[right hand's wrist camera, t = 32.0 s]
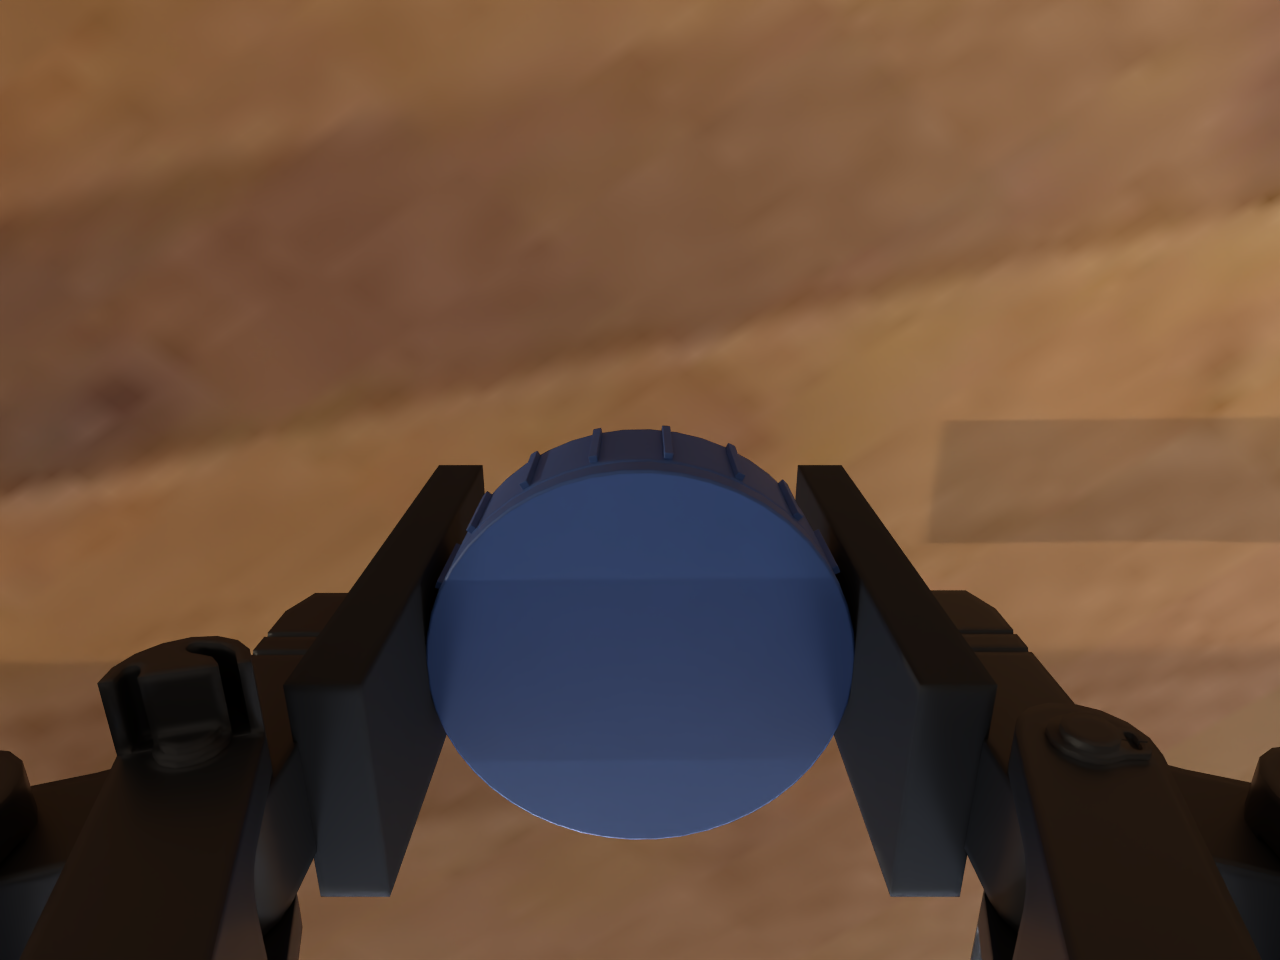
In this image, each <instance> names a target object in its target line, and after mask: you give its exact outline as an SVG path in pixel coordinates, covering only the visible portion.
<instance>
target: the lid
mask: <svg viewBox="0 0 1280 960" xmlns="http://www.w3.org/2000/svg"><path fill="white" fill-rule="evenodd" d="M466 530H467V531H468V532H467V534H466V536H465V538H464V540H463V542H462V544H461V545H460V544H457V543H456V545H455V547H454V549H453V551H452V553H451V555H450V557H449V559H448V560H447V562H446V564H445V566H444V568H443V570H442V572H441V574H440V576H439V578H438V580H437V583H436V585H435V588H438V589H439V591H438V594H437V597H436V600H435V602H434V605H433V608H432V611H431V615H430V620H429V626H428V631H427V637H426V658H427V669H428V678H429V687H430V692H431V695H432V699H433V702H434V706H435V709H436V712H437V714H438V716H439V719H440V721H441V723H442V725H443V728H444V730H445V732H446V734H447V735H448V737H449V739H450V740H451V742H452V743H453V745H454V747H455V748H456V750H457V751H458V753H459V754H460V755H461V756H462V758H463V759H464V760H465V761H466V763H467V764H468V765H469V766H470V767H471V769H472V770H473V771H474V772H475V773H476V774H477V775H478V776H479V777H480V778H481V779H483V780H484V781H485V782H486V783H487V784H488V785H489V786H490V787H491V788H492V789H494V790H495V791H496V792H498V793H499V794H500V795H502V796H503V797H505V798H506V799H507V800H509V801H510V802H511V803H513V804H515V805H517V806H518V807H520V808H522V809H524V810H525V811H527V812H529V813H531V814H532V815H534V816H537V817H539V818H541V819H544V820H546V821H548V822H551V823H553V824H555V825H558V826H562V827H565V828H568V829H571V830H575V831H578V832H581V833H587V834H592V835H597V836H602V837H609V838H620V839H662V838H671V837H679V836H685V835H690V834H694V833H698V832H703V831H707V830H710V829H713V828H716V827H719V826H722V825H725V824H728V823H731V822H733V821H735V820H737V819H739V818H742V817H744V816H746V815H748V814H750V813H752V812H754V811H756V810H758V809H759V808H761V807H763V806H764V805H766V804H767V803H769V802H771V801H772V800H774V799H776V798H777V797H778V796H779V795H781V794H782V793H783V792H784V791H786V790H787V789H788V788H790V787H791V786H792V785H793V784H795V783H796V782H797V781H798V780H799V779H800V778H801V777H802V776H803V775H804V774H805V773H806V772H807V771H808V770H809V769H810V768H811V767H812V765H813V764H814V763H815V761H816V760H817V759H818V758H819V756H820V755H821V754H822V752H823V751H824V750H825V748H826V747H827V745H828V744H829V742H830V740H831V738H832V737H833V735H834V733H835V731H836V730H837V728H838V726H839V724H840V721H841V719H842V716H843V714H844V711H845V709H846V706H847V704H848V700H849V696H850V691H851V683H852V674H853V664H854V654H855V641H854V629H853V625H852V620H851V616H850V611H849V607H848V604H847V602H846V599H845V597H844V594H843V592H842V589H841V586H840V584H839V582H838V580H837V578H836V576H835V574H837V573H840V570H839V568H838V565H837V564H836V562H835V560H834V558H833V556H832V554H831V552H830V550H829V548H828V546H827V544H826V542H825V540H824V538H823V536H822V534H821V533H820V531H819V529H818V530H815V531H813V529H812V528H811V526H810V524H809V523H808V521H807V519H806V517H805V516H804V514H803V512H802V510H801V509H800V508H799V506H798V505H797V503H796V501H795V499H794V497H793V495H792V493H791V491H790V489H789V487H788V484H787V483H786V482H785V481H784V480H781V481H780V482H779V483H777V482H776V481H775V480H774V479H773V478H772V477H771V476H770V475H769V474H768V473H766V472H765V471H764V470H762V469H761V468H759V467H758V466H757V465H755V464H754V463H753V462H751V461H750V460H748V459H746V458H745V457H743V456H741V455H739V454H738V453H737V451H736V448H735V446H734V445H732V444H729V443H728V444H727V446H726V447H723V446H721V445H718V444H715V443H713V442H710V441H707V440H705V439H702V438H698V437H694V436H690V435H686V434H681V433H677V432H671V431H670V426H662V431H660V430H651V429H647V430H619V431H612V432H606V433H602V430H601V428H598V429H594V430H593V435H591V436H587V437H584V438H580V439H576V440H573V441H570V442H568V443H565V444H563V445H561V446H558V447H556V448H554V449H551V450H549V451H547V452H545V453H544V454H542V455H540V454H539V452H538V451H536V452H534V453H533V454H531V456H530V459H529V461H528V463H526V464H525V465H524V466H523V467H521V468H520V469H519V470H517V471H516V472H515V473H514V474H512V475H511V476H510V477H509V478H507V479H506V480H505V481H504V482H503V483H502V484H501V485H500V486H499V487H498V489H497V490H496V491H495V492H494V493H493V494H490V493H489V492H488V491H487V492H486V493H485V494H484V495H483V497H482V499H481V501H480V503H479V505H478V507H477V509H476V511H475V513H474V515H473V517H472V519H471V521H470V523H469V525H468V527H467V529H466Z"/></svg>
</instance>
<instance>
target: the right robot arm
mask: <svg viewBox="0 0 1280 960" xmlns="http://www.w3.org/2000/svg"><path fill="white" fill-rule="evenodd" d="M484 494H485V493H484V479H483V465H439V466H438V467H437V469H436V470H435V472H434V473H433V475H432V476H431V477H430V479H429V480H428V482H427V483H426V484H425V486H424V487H423V489H422V490H421V491H420V493H419V494H418V496H417V497H416V498H415V500H414V501H413V503H412V504H411V506H410V507H409V508H408V510H407V511H406V513H405V514H404V515H403V517H402V518H401V520H400V521H399V522H398V524H397V525H396V527H395V528H394V529H393V531H392V532H391V534H390V535H389V536H388V538H387V539H386V541H385V542H384V544H383V545H382V546H381V548H380V549H379V551H378V552H377V553H376V555H375V556H374V558H373V559H372V560H371V562H370V563H369V565H368V566H367V567H366V569H365V570H364V572H363V573H362V575H361V576H360V577H359V579H358V580H357V582H356V583H355V584H354V586H353V587H352V589H351V590H350V591H349V593H315V594H313V595H311V596H310V597H308V598H306V599H305V600H303V601H302V602H300V603H298V604H297V605H295V606H293V607H292V608H290V609H289V610H287V611H285V613H284V614H283V615H282V616H281V617H280V619H279V620H278V621H277V622H276V623H275V625H274V626H273V627H272V628H271V630H270V631H269V632H268V637H264V638H263V639H262V640H261V642H260V643H259V644H258V645H257V646H256V648H255V649H254V650H253V655H251V653H250V649H249V648H248V647H246V646H245V645H244V644H242V643H241V642H240V641H238V640H235V639H230V638H225V637H220V636H207V637H190V638H185V639H181V640H176V641H171V642H167V643H162V644H160V645H157V646H155V647H152V648H149V649H147V650H144V651H141V652H139V653H136V654H134V655H132V656H131V657H129V658H128V659H126V660H124V661H123V662H121V663H119V664H118V665H116V666H114V667H113V668H111V669H110V671H109V672H108V673H107V674H106V675H105V676H104V677H103V678H102V679H101V680H100V681H99V682H98V683H97V684H98V687H99V691H100V695H101V698H102V702H103V706H104V709H105V713H106V717H107V720H108V724H109V728H110V731H111V735H112V739H113V742H114V746H115V750H116V753H117V757H116V759H115V762H114V764H113V766H112V768H111V769H109V770H105V771H102V772H98V773H93V774H88V775H83V776H79V777H74V778H69V779H64V780H59V781H54V782H49V783H44V784H39V785H34V786H30V783H29V780H28V777H27V774H26V771H25V768H24V765H23V761H22V760H20V759H19V758H18V757H16V756H15V755H14V754H12V753H11V752H9V751H0V960H298V959H299V951H300V943H301V935H302V921H301V914H300V908H299V902H298V897H297V891H298V889H299V887H300V885H301V883H302V881H303V879H304V877H305V875H306V873H307V871H308V869H309V867H310V865H311V862H312V860H313V858H314V861H315V867H316V872H317V878H318V883H319V889H320V895H321V897H390V895H391V892H392V889H393V886H394V884H395V881H396V878H397V875H398V872H399V869H400V866H401V864H402V861H403V858H404V855H405V852H406V849H407V846H408V844H409V841H410V838H411V835H412V832H413V829H414V826H415V824H416V821H417V818H418V815H419V812H420V809H421V806H422V804H423V801H424V798H425V795H426V792H427V789H428V786H429V784H430V781H431V778H432V775H433V772H434V769H435V766H436V764H437V761H438V758H439V755H440V752H441V749H442V746H443V744H444V741H445V738H446V735H447V734H446V732H445V730H444V728H443V725H442V723H441V721H440V719H439V716H438V714H437V712H436V709H435V706H434V702H433V699H432V695H431V692H430V687H429V678H428V669H427V658H426V637H427V631H428V626H429V620H430V615H431V611H432V608H433V605H434V602H435V600H436V597H437V594H438V591H439V589H438V588H435V585H436V583H437V580H438V578H439V576H440V574H441V572H442V570H443V568H444V566H445V564H446V562H447V560H448V559H449V557H450V555H451V553H452V551H453V549H454V547H455V545H456V543H457V544H460V545H461V544H462V542H463V540H464V538H465V536H466V534H467V532H468V531H467V530H466V529H467V527H468V525H469V523H470V521H471V519H472V517H473V515H474V513H475V511H476V509H477V507H478V505H479V503H480V501H481V499H482V497H483V495H484ZM795 501H796V503H797V505H798V506H799V508H800V509H801V510H802V512H803V514H804V516H805V517H806V519H807V521H808V523H809V524H810V526H811V528H812V529H813V531H815V530H818V529H819V531H820V533H821V534H822V536H823V538H824V540H825V542H826V544H827V546H828V548H829V550H830V552H831V554H832V556H833V558H834V560H835V562H836V564H837V565H838V568H839V570H840V573H837V574H835V576H836V578H837V580H838V582H839V584H840V586H841V589H842V592H843V594H844V597H845V599H846V602H847V604H848V607H849V611H850V616H851V620H852V625H853V629H854V641H855V654H854V664H853V674H852V683H851V691H850V696H849V700H848V704H847V706H846V709H845V711H844V714H843V716H842V719H841V721H840V724H839V726H838V728H837V730H836V731H835V733H834V736H835V739H836V742H837V745H838V748H839V751H840V754H841V756H842V759H843V762H844V765H845V768H846V771H847V774H848V776H849V779H850V782H851V785H852V788H853V791H854V794H855V796H856V799H857V802H858V805H859V808H860V811H861V814H862V816H863V819H864V822H865V825H866V828H867V831H868V834H869V836H870V839H871V842H872V845H873V848H874V851H875V854H876V856H877V859H878V862H879V865H880V868H881V871H882V874H883V876H884V879H885V882H886V885H887V888H888V891H889V894H890V896H891V897H960V892H961V886H962V881H963V875H964V870H965V864H966V859H967V855H968V857H969V859H970V861H971V863H972V866H973V868H974V870H975V872H976V874H977V876H978V878H979V880H980V882H981V884H982V886H983V888H984V892H983V897H982V902H981V908H980V913H979V918H978V923H977V928H976V933H975V939H974V944H973V949H972V954H971V959H970V960H1280V747H1276V748H1271V749H1270V750H1269V751H1267V752H1266V753H1265V754H1263V755H1262V756H1261V757H1259V761H1258V764H1257V767H1256V770H1255V773H1254V776H1253V779H1252V782H1251V783H1249V782H1245V781H1240V780H1235V779H1230V778H1225V777H1220V776H1215V775H1210V774H1205V773H1200V772H1195V771H1190V770H1185V769H1181V768H1178V767H1174V766H1170V765H1168V764H1167V762H1166V760H1165V758H1164V756H1163V754H1162V753H1161V752H1160V750H1159V749H1158V748H1157V747H1156V745H1155V744H1154V743H1153V742H1152V740H1151V739H1150V738H1149V737H1148V736H1146V735H1145V734H1143V733H1142V732H1141V731H1139V730H1138V729H1136V728H1135V727H1133V726H1132V725H1131V724H1129V723H1128V722H1126V721H1123V720H1121V719H1119V718H1117V717H1114V716H1112V715H1110V714H1108V713H1105V712H1103V711H1100V710H1096V709H1092V708H1088V707H1084V706H1080V705H1076V704H1074V702H1073V701H1072V700H1071V699H1070V698H1069V696H1068V695H1067V694H1066V693H1065V692H1064V690H1063V689H1062V688H1061V687H1060V686H1059V684H1058V683H1057V682H1056V681H1055V680H1054V678H1053V677H1052V676H1051V675H1050V674H1049V672H1048V671H1047V670H1046V669H1045V668H1044V666H1043V665H1042V664H1041V663H1040V662H1039V660H1038V659H1037V658H1036V657H1035V656H1034V654H1033V653H1032V652H1028V647H1027V646H1026V645H1025V644H1024V642H1023V641H1022V640H1021V639H1020V638H1019V636H1018V635H1017V634H1013V629H1012V628H1011V627H1010V626H1009V624H1008V623H1007V622H1006V621H1005V619H1004V618H1003V617H1002V616H1001V615H1000V613H999V612H998V611H997V610H996V609H995V608H994V607H992V606H990V605H989V604H987V603H985V602H984V601H982V600H980V599H979V598H977V597H976V596H974V595H972V594H971V593H969V592H967V591H966V590H930V589H929V588H928V586H927V585H926V584H925V582H924V581H923V579H922V578H921V577H920V575H919V574H918V572H917V571H916V570H915V568H914V567H913V565H912V564H911V562H910V561H909V560H908V558H907V557H906V555H905V554H904V553H903V551H902V550H901V548H900V547H899V546H898V544H897V543H896V541H895V540H894V539H893V537H892V536H891V534H890V533H889V532H888V530H887V529H886V527H885V526H884V524H883V523H882V522H881V520H880V519H879V517H878V516H877V515H876V513H875V512H874V510H873V509H872V508H871V506H870V505H869V503H868V502H867V501H866V499H865V498H864V496H863V495H862V494H861V492H860V491H859V489H858V488H857V486H856V485H855V484H854V482H853V481H852V479H851V478H850V477H849V475H848V474H847V472H846V471H845V470H844V468H843V467H842V465H798V472H797V486H796V500H795Z"/></svg>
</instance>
